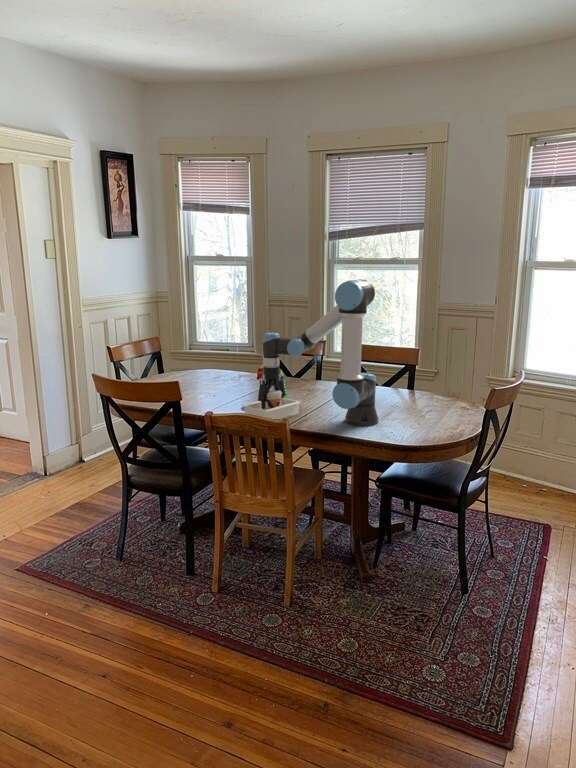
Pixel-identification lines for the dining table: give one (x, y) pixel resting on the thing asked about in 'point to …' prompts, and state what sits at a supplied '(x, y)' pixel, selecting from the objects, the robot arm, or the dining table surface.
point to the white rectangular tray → (274, 409)
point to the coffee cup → (273, 398)
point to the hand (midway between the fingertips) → (272, 413)
